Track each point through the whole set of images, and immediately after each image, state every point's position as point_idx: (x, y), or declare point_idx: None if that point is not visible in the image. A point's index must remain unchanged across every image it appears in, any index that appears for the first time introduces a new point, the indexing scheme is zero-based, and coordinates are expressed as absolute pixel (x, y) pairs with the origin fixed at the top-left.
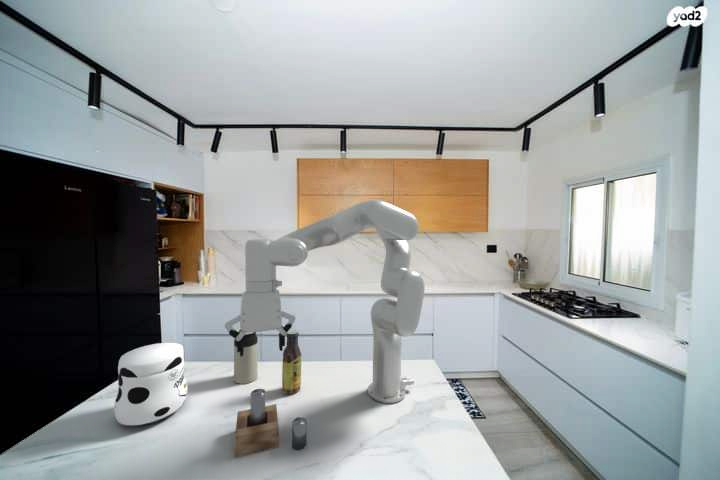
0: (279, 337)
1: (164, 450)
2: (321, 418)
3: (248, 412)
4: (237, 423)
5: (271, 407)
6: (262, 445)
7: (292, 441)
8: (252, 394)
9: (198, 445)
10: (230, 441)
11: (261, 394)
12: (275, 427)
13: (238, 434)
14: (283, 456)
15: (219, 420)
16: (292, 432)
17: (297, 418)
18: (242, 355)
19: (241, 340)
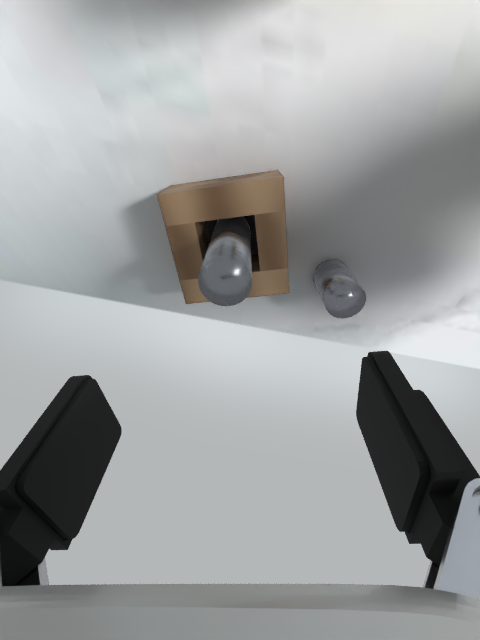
0: (396, 502)
1: (21, 228)
2: (415, 184)
3: (194, 207)
4: (175, 255)
5: (267, 195)
6: None
7: (316, 286)
8: (206, 290)
9: (93, 228)
10: None
11: (239, 295)
12: (281, 292)
13: (192, 298)
14: (293, 298)
15: (95, 120)
16: (321, 296)
17: (342, 288)
18: (117, 434)
19: (55, 543)
